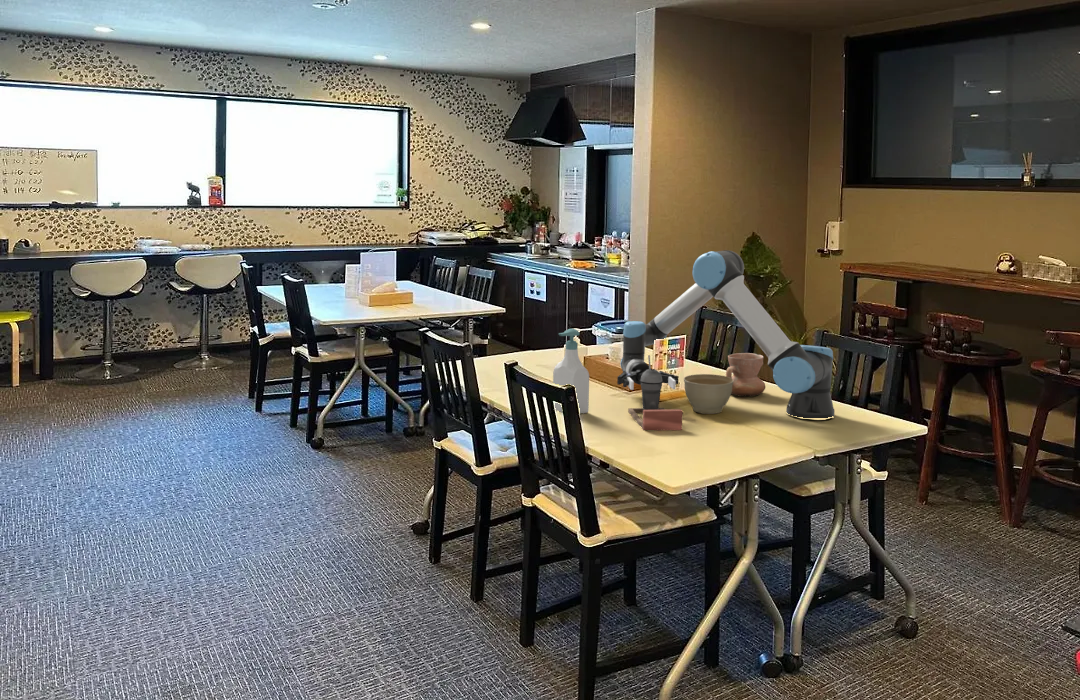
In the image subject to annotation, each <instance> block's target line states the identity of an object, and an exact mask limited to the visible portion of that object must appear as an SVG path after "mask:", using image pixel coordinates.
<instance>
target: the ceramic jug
mask: <svg viewBox="0 0 1080 700" xmlns="http://www.w3.org/2000/svg"><path fill="white" fill-rule="evenodd" d="M727 360H728V361H727V362H728V364H729V366H728V367H727V369H726V370H725V371H726V372H725V376H726V377H729V378H732V379H733V380H734V382H733V385H732V392H731V395H734V396H738V395H739V397H755V395H756V396H759V395H761V394H763V393H764V392H765V390H766V386H767V385H766V383H765V382H764V380H762V379H760V378H759V377H758V374H759V372H760V370H761V368H762V366H763V365H764V356H763V355H761V354H757V353H752V352H751V353H750V352H741V353H740V352H739V353H732V354H729V355H727Z"/></svg>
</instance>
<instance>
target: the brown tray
mask: <svg viewBox="0 0 1080 700" xmlns="http://www.w3.org/2000/svg"><path fill="white" fill-rule="evenodd" d="M627 410H628V413H629V415H630V414H631V415H632V416H631V415H630V416H631V417H632V418H633V420H634V421H635V420H636V421H637V422H636V421H635V422H636V423H637V425H638V426H639V427H640V426H641V427H642V428H641V427H640V428H641V429H642V431H644V430H654V431H682V430H683V414H684V413H683V410H682V409H675V408H674V409H665V408H664V407H659V408H658V410H643V407H638V408H637V407H635V408H632V407H631V408H628V409H627ZM641 413H642V418H641V417H640V416H639V414H641Z"/></svg>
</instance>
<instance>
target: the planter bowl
mask: <svg viewBox="0 0 1080 700" xmlns="http://www.w3.org/2000/svg"><path fill="white" fill-rule="evenodd" d="M683 382H684V384H683V385H684V386H683V387H684V392H685V395H686V397H687V400H688V402H689V404H690V405H691V407H692V410H693V411H694V412H696V413H699V414H707V415H711V414H714V415H715V414H720V413H721V412H722V411H723V408H724V407H725V406H726V404H727V403H728V401H729V400H730V398H731V395H732V394H731V392H732V385H733V382H734V380H733V379H732V378H729V377H726V375H720V374H713V373H712V374H710V373H709V374H708V373H703V374H702V373H700V374H697V373H696V374H690V375H687V376H684V377H683Z"/></svg>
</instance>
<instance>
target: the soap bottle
mask: <svg viewBox="0 0 1080 700" xmlns="http://www.w3.org/2000/svg"><path fill="white" fill-rule="evenodd" d="M558 335H559V337H569V340H567V341H566V342H565V351H564V352H565V353H564V357H563V358H562V360H561V361H559V362H558V363H557V364H556V365H555V366H554V369H553V371H552V373H553V375H552V384H553V383H555V384H559V385H566V384H571V385H574V386H575V388H576V393H577V399H578V403H579V408H580V413H583V414H588V413H589V407H590V406H589V401H590V398H589V397H590V373H589V370H588V369H587V368H586V367H585V366H584V365H583V364H582V361H581V359H580V356H579V351H578V342H577V341H576V340H574V336H575V337H577V336H580V332H579V330H577V329H574V328H568V329H566V330H564V332H558ZM555 408H556V411H557V412H561V413H563V412H562V407H561V405H560V404H558V403H555ZM587 412H588V413H587Z"/></svg>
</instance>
